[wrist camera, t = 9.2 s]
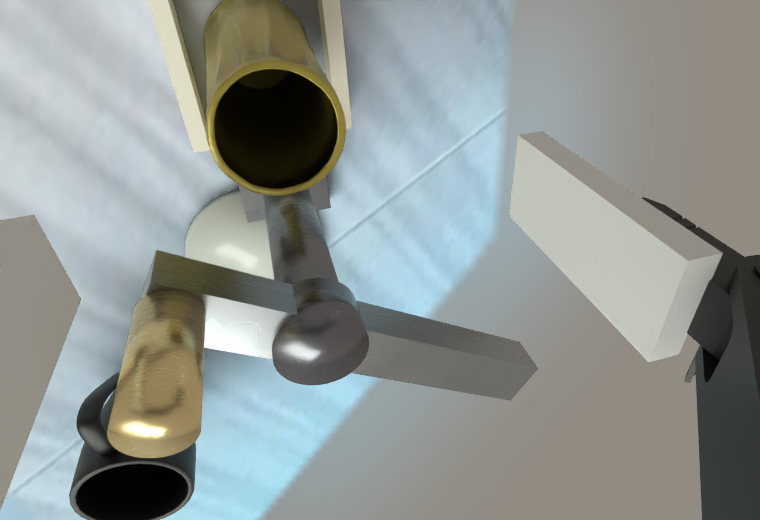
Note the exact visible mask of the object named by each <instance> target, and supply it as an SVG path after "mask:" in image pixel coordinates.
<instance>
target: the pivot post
mask: <svg viewBox="0 0 760 520" xmlns="http://www.w3.org/2000/svg"><path fill="white" fill-rule="evenodd" d="M238 188H239V191H240V195H241V199H242V203H243V207H244V211H245V215H246V218H247V222H248V223H250V222H255V221H261V220H266V225H267V232H268V239H269V246H270V253H271V260H272V267H273V274H274V280H277V281H281V282H285V283H289V284H294V283H296V282H299V281H302V280H306V279H312V278H326V279H331V280H335V281H338V279H337V276H336V272H335V269H334V266H333V263H332V260H331V257H330V253H329V250H328V247H327V244H326V241H325V238H324V234H323V231H322V228H321V225H320V222H319V219H318V215H317V212H316V210H321V209H326V208H331V206H330V198H329V191H328V184H327V176H325V177H324V178H323V179H322V180H321V181H320V182H318V183H317V184H316V185H314V186H312V187H310V188H308V189H306V190H303V191H300V192H297V193H293V194H290V195H284V196H269V195H262V194H258V193H254V192H251V191H249V190H247V189H245V188H243V187H242V186H240V185H239V184H238Z"/></svg>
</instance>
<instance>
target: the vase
mask: <svg viewBox="0 0 760 520" xmlns="http://www.w3.org/2000/svg"><path fill="white" fill-rule="evenodd" d="M203 39H204V52H205V58H206V64H207V110H206V138H207V142H208V146H209V148H210V150H211V152H212V155H213V157H214V159H215V161H216V163H217V164H218V166H219V168H220V169H221V170H222V171H223V172H224V173H225V174H226V175H227V176H228V177H229V178H231V179H232V180H233V181H235V182H236V183H237V184H239V185H240V186H242V187H243V188H245V189H247V190H249V191H251V192H254V193H258V194H262V195H269V196H284V195H290V194H293V193H297V192H300V191H303V190H306V189H308V188H310V187H312V186H314V185H316V184H317V183H318V182H320V181H321V180H322V179H323V178H324V177H325V176H326V175H327V174H328V173H329V172H330V171H331V170H332V169H333V167H334V166H335V165H336V163H337V161H338V159H339V157H340V155H341V153H342V151H343V146H344V141H345V134H346V121H345V116H344V112H343V109H342V106H341V103H340V101H339V98H338V96H337V94H336V92H335V90H334V88H333V87H332V85H331V84H330V82H329V81H328V79H327V77H326V76H325V74H324V72H323V71H322V69H321V67H320V66H319V64H318V62H317V60H316V58H315V56H314V54H313V52H312V50H311V49H310V47H309V45H308V43H307V39H306V35H305V32H304V29H303V27H302V25H301V23H300V21H299V19H298V18H297V16H296V15H295V14H294V13H293V12H292V11H291V10H290V9H289V8H288V7H287V6H286V5H285V4H283V3H282V2H280V1H279V0H225V1H224V2H222V3H221V4H220V5H219V6H217V8H216V9H215V10H214V11H213V13H212V14H211V16H210V18H209V19H208V22H207V24H206V27H205V30H204V36H203Z"/></svg>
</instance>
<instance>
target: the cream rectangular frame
mask: <svg viewBox="0 0 760 520" xmlns="http://www.w3.org/2000/svg"><path fill="white" fill-rule="evenodd" d="M147 2H148V5H149V8H150V11H151V15H152V18H153V21H154V24H155V28H156V31H157V34H158V38H159V41H160V44H161V47H162V51H163V54H164V57H165V60H166V64H167V67H168V70H169V73H170V77H171V80H172V83H173V86H174V90H175V93H176V96H177V99H178V103H179V106H180V109H181V113H182V116H183V119H184V122H185V126H186V129H187V132H188V135H189V139H190V142H191V145H192V148H193V152H194V153H195V152H202V151H208V150H210V148H209V146H208V142H207V138H206V118H205V115H204V111H203V108H202V104H201V100H200V97H199V93H198V90H197V86H196V82H195V79H194V75H193V72H192V68H191V65H190V61H189V57H188V54H187V50H186V47H185V43H184V39H183V36H182V32H181V29H180V25H179V21H178V18H177V14H176V11H175V7H174V4H173V0H147ZM317 2H318V11H319V19H320V27H321V36H322V44H323V52H324V61H325V69H326V77H327V79H328V81H329V82H330V84H331V85H332V87H333V88H334V90H335V92H336V94H337V96H338V98H339V101H340V103H341V106H342V109H343V112H344V116H345V121H346V129H351V128H352V121H351V110H350V100H349V89H348V79H347V68H346V58H345V47H344V37H343V26H342V16H341V5H340V0H317Z"/></svg>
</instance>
